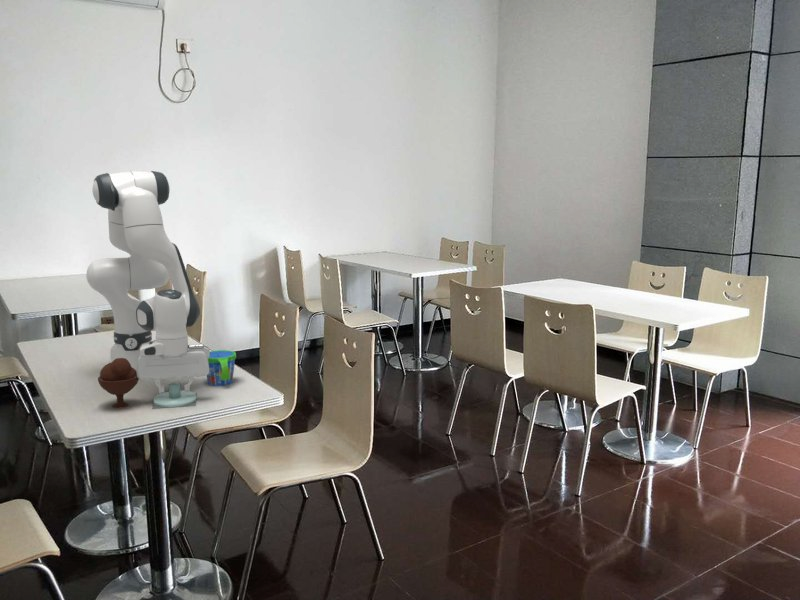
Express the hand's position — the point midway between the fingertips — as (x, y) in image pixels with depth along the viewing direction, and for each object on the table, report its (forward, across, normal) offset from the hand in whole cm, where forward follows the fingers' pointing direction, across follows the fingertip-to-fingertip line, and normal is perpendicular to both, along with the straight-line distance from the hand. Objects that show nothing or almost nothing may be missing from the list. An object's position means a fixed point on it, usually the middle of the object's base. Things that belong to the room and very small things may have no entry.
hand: (174, 391), depth 204 cm
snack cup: (+4, -13, -16) cm, 21 cm away
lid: (+3, 0, 0) cm, 3 cm away
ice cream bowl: (+4, +15, 0) cm, 15 cm away
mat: (+4, 0, 0) cm, 4 cm away
